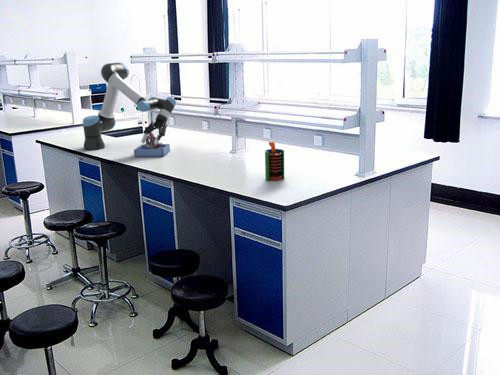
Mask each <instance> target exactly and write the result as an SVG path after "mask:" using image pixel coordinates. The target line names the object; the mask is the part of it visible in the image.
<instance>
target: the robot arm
mask: <svg viewBox="0 0 500 375" xmlns="http://www.w3.org/2000/svg"><path fill="white" fill-rule="evenodd" d="M100 74H101V78H102V79H103V80H104V81H105V82H106V83H107V86H106V92H105V95H104V98H103V102H102V107H101V110H99V111H98V114H95V115H87V116H86V117H84V118H83V119H82V127H83V132H84V133H83V134H84V142H83V150H85V151H95V150H102V149H104V148H106V145H105V142H104V140H103V138H102V133H103V132H107V131H110V130H113V129H114V127H115V126H116V120H115V119H116V118H115V114H114V110H115V106H116V103H117V99H118V96H119V92H120V93H121V94H123V95H124V96H126V98H128V99H129V100H131V102H133V103H134V105H137V108H138V109H137V110H139V112H141V113H145V112H146V113H147V112H150V111H154V110H159V112H158V114H157V115H156V118H155V121H151V122H150V123H149V125H148V126H147V127H146V128H145V129H144V130H143V132H142V133H143V136H142V138H141V143H142V145H144V144H146V139H147V137H148V135H149V134H150V133H152V132H153V131H155V130H158V134H157V135H156V139H155V141H154V144H155V145H157V143H158V141H160V140H161V139H162V137H165V136H166V130H167V127H168V124H167V121H168V120H169V117H170V116H171V115H172V112H173V110H174V109H175V107H176V105H177V101H176V99H175V98H173V97H171V96H168V97H166V98H165V99H163V98H160V97H159V98H158V97H156V96H150V97H149V98H148V99H147V97H145V96H144V95H142V93H140V92H139V91H138V90H136V89H135V88H134V87H133V86H131V85H130V84H129V83H128V82H127V81H125V79H127V78H128V77H129V74H130V70H129V68H128V66H127V65H126V63H124V62H113V63H106V64H104V65H103V66H102V67H101V70H100Z"/></svg>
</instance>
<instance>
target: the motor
mask: <svg viewBox="0 0 500 375" xmlns="http://www.w3.org/2000/svg"><path fill="white" fill-rule="evenodd" d="M268 146H269V147H270V148H268V149H265V150H264V161H265V162H264V164H265V165H264V166H265V167H264V168H265V169H264V171H265V172H264V173H265V181H267V182H269V181H271V182H279V181H281V180H283V179H285V150H284V149H282V148H276V144H275V141H269V142H268Z"/></svg>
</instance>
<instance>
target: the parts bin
mask: <svg viewBox="0 0 500 375" xmlns="http://www.w3.org/2000/svg"><path fill="white" fill-rule="evenodd" d="M161 147H162V148H161ZM159 148H160V149H146V147H145V145H144V144H141V145H139V146H137V147H136V148H135V149H133V155H134V158H159V157H161V158H162V157H166V155H167V154H169V153H170V152H171V146H170V143H162V145H161V146H160V147H159Z"/></svg>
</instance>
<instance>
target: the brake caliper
mask: <svg viewBox="0 0 500 375" xmlns="http://www.w3.org/2000/svg"><path fill="white" fill-rule="evenodd" d="M156 137H157V136H156ZM156 137H155V135H154V133H152V132H151V133H150V134H148V137H147V139H146V141H145V143H144V144H143V145H145V147H146V149H160V148H159V147H160V146H161V145H162V144H163V143H162V142H159V141H160V140H159V141H158V143H157V145H155V144H154V141H155V139H156ZM161 148H162V147H161Z"/></svg>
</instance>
